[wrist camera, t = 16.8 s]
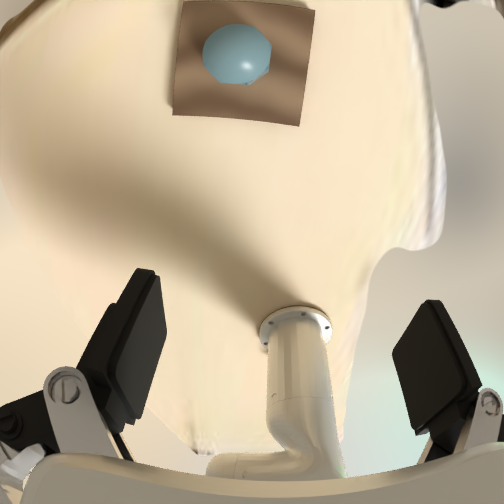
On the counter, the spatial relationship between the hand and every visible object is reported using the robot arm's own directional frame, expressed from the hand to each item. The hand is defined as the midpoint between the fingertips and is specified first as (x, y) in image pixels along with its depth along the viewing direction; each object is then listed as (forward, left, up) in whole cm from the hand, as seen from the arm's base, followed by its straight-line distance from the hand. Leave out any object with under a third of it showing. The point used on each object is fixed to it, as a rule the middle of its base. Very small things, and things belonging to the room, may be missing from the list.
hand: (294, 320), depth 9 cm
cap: (+10, +5, -25) cm, 27 cm away
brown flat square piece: (+10, +5, -26) cm, 29 cm away
